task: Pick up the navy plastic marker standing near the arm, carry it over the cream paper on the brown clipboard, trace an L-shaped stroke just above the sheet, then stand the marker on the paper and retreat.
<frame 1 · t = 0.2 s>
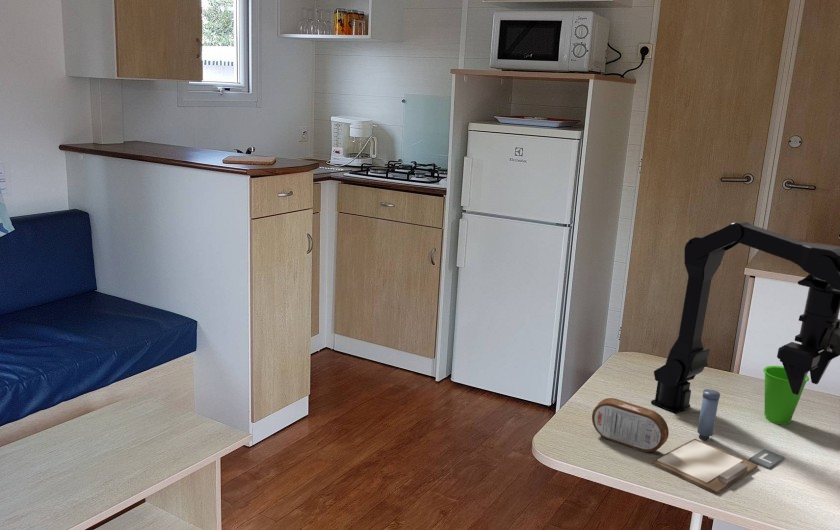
hand: (805, 388, 140), 14 cm above the table, fingers open, 9 cm apart
tin: (625, 444, 144), on the table
marker: (704, 438, 148), on the table
letter tile: (766, 459, 141), on the table
cup: (777, 420, 159), on the table
clipboard: (704, 465, 137), on the table
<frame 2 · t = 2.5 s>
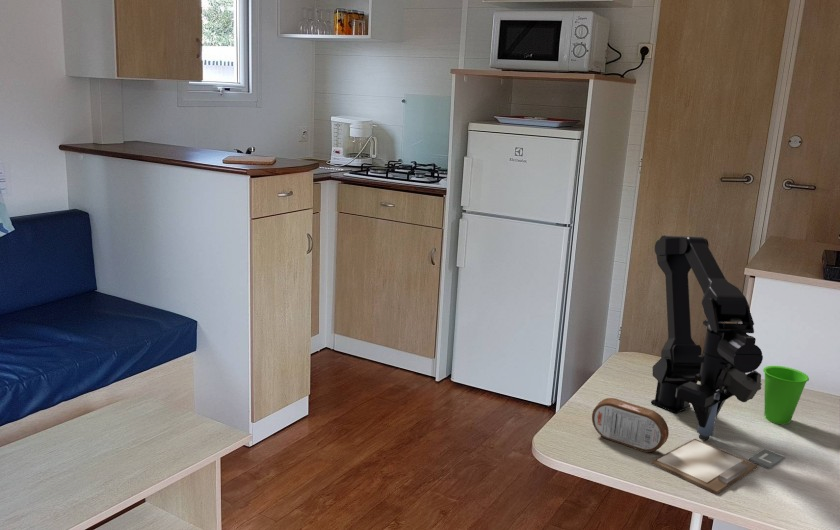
hand: (706, 424, 148), 3 cm above the table, fingers closed on marker, 3 cm apart
marker: (704, 438, 148), on the table, touching gripper
everything else where it was.
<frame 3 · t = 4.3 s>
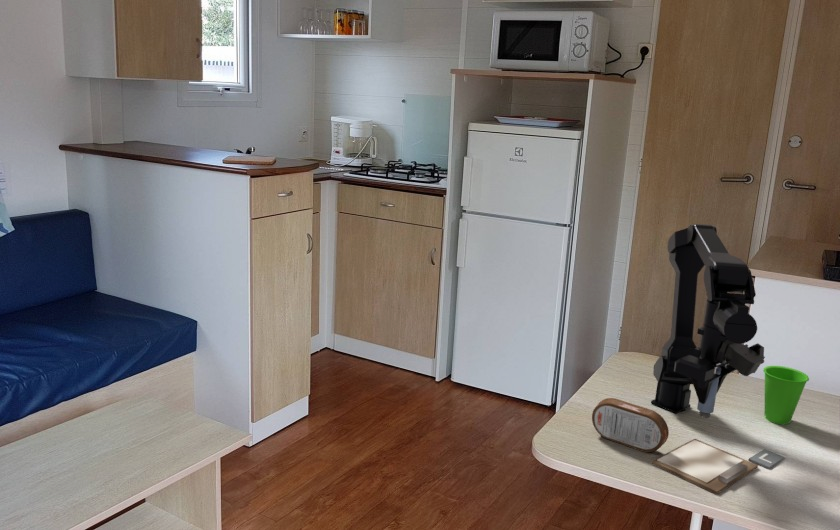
hand: (706, 401, 141), 10 cm above the table, fingers closed on marker, 3 cm apart
marker: (704, 415, 141), point 7 cm above the table, touching gripper
everything else where it was.
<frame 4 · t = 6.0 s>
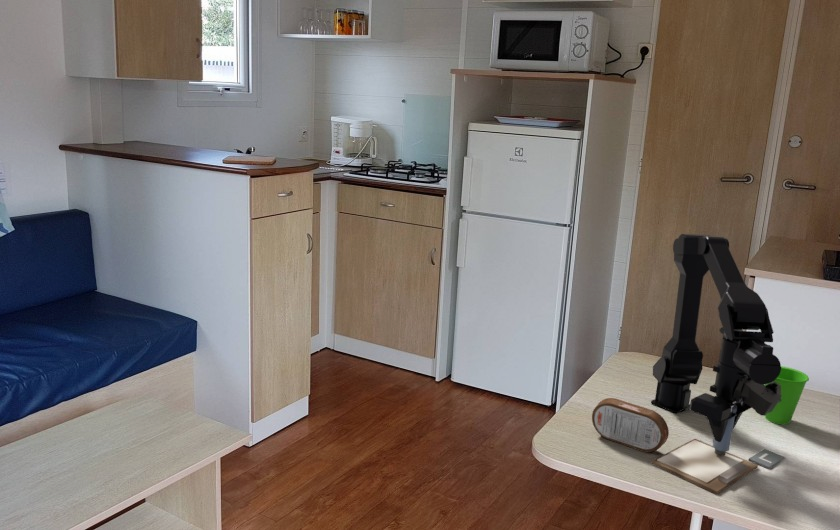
hand: (722, 438, 139), 4 cm above the table, fingers closed on marker, 3 cm apart
marker: (719, 453, 139), point 1 cm above the table, touching gripper
everything else where it was.
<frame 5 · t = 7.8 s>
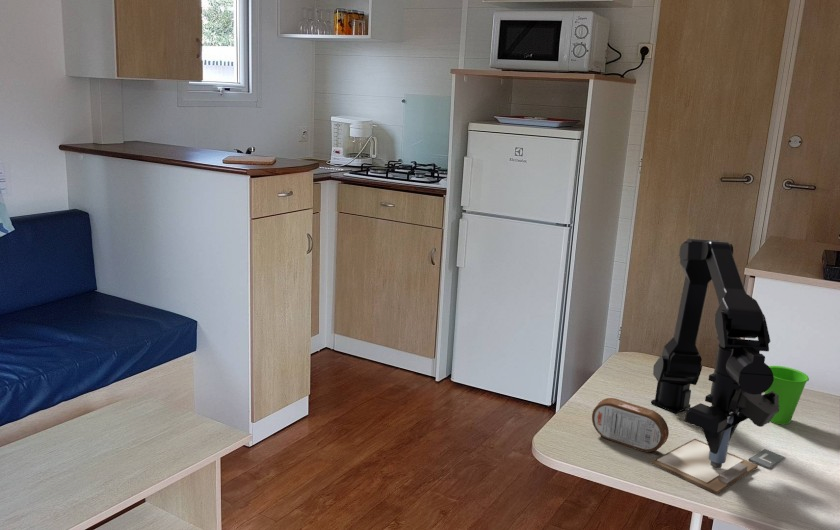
hand: (718, 450, 134), 4 cm above the table, fingers closed on marker, 3 cm apart
marker: (715, 465, 135), point 1 cm above the table, touching gripper
everything else where it was.
when the fingers open (4 cm above the table, at t = 9.6 s): marker stays where it is, resting on clipboard.
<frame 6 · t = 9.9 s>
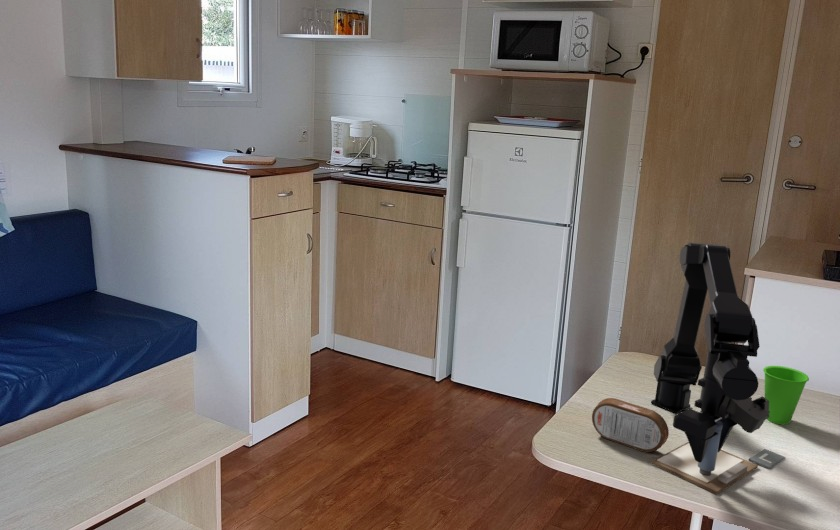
hand: (707, 456, 132), 4 cm above the table, fingers open, 6 cm apart
marker: (705, 473, 133), point 1 cm above the table, touching clipboard
everything else where it was.
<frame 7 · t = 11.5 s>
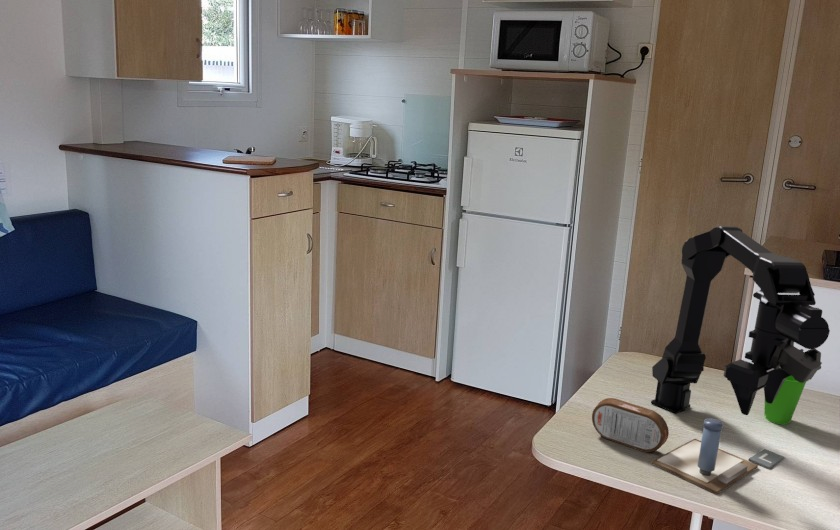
hand: (757, 408, 133), 13 cm above the table, fingers open, 9 cm apart
nothing on the table moved.
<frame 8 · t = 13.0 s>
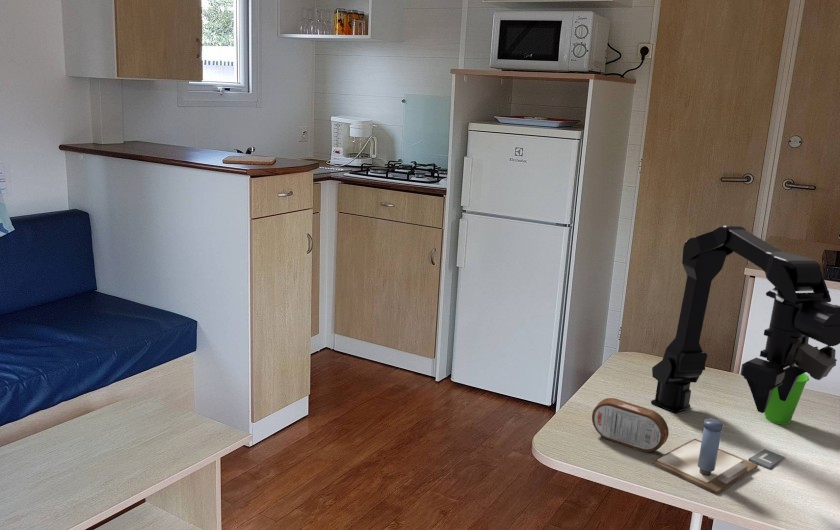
hand: (772, 406, 134), 13 cm above the table, fingers open, 9 cm apart
nothing on the table moved.
at the end: marker inside the target area on the clipboard (4.5 cm from its centre), point 0.8 cm above the clipboard's base; marker tilted 0°; the gripper is holding nothing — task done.
